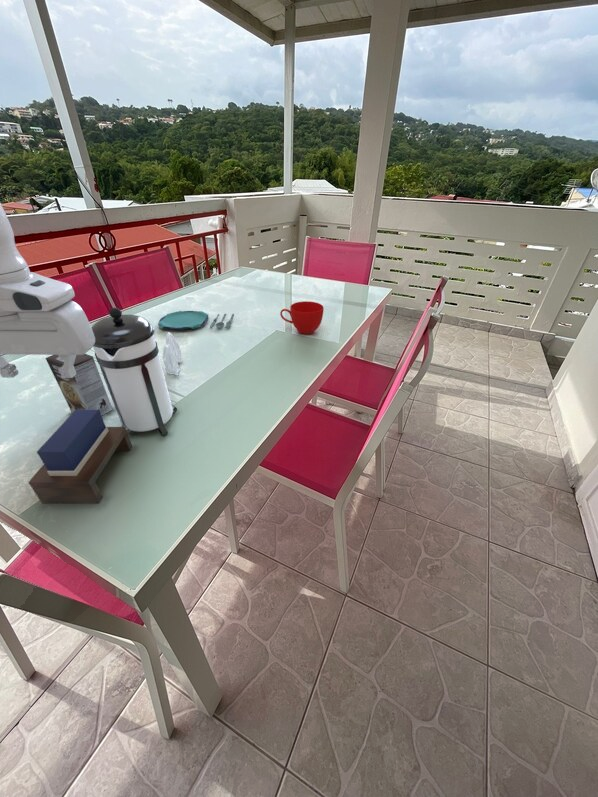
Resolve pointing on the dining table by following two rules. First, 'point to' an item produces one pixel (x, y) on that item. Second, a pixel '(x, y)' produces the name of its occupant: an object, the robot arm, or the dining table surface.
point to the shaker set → (171, 355)
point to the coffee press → (133, 371)
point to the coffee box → (81, 384)
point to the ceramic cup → (305, 316)
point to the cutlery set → (189, 320)
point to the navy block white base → (73, 443)
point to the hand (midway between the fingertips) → (40, 376)
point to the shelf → (81, 473)
